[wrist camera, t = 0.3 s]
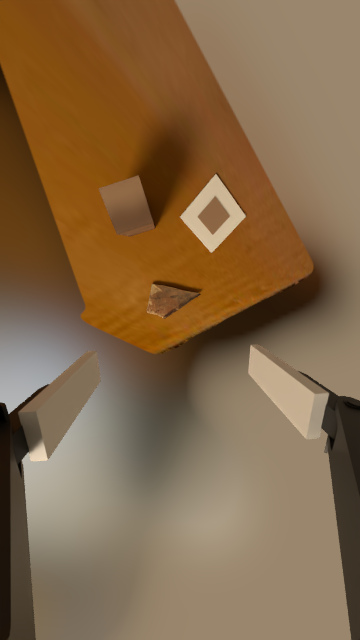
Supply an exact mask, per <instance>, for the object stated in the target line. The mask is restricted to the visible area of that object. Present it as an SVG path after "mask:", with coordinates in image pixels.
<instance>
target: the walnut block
mask: <svg viewBox="0 0 360 640" xmlns="http://www.w3.org/2000/svg"><path fill="white" fill-rule="evenodd" d="M99 191H100V193H101V196H102V198H103V201H104V203H105V206H106V208H107V211H108V213H109V216H110V218H111V221H112V223H113V226H114V228H115V230H116V233H117V234H119V235H125V236H133V235H136V234H139V233H142V232H145V231H148V230H152V229H155V226H154V223H153V219H152V216H151V213H150V210H149V207H148V203H147V200H146V197H145V194H144V191H143V187H142V184H141V181H140V178H139V175H138V176H135V177H132V178H129V179H126V180H123V181H120V182H117V183H114V184H111V185H108V186H105V187H102V188H99Z"/></svg>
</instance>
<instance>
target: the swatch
mask: <svg viewBox="0 0 360 640" xmlns="http://www.w3.org/2000/svg"><path fill="white" fill-rule="evenodd" d="M245 217H246V216H245V214H244V213H243V211H242V210H241V209H240V207H239V206H238V204H237V203H236V202H235V200H234V199H233V197H232V196H231V194H230V193H229V192H228V190H227V189H226V187H225V186H224V184H223V183H222V182H221V180H220V179H219V177H218V176H217V175H216V174H215V176H214V177H213V178H212V179H211V180H210V182H209V183H208V184H207V185H206V186H205V188H204V189H203V190H202V191H201V192H200V194H199V195H198V196H197V197H196V198H195V200H194V201H193V202H192V203H191V204H190V206H189V207H188V208H187V209H186V210H185V212H184V213H183V214H182V215H181V216H180V218H181V219H182V220H183V221H184V222H185V224H186V225H187V226H188V227H189V228H190V229H191V230H192V232H193V233H194V234H195V235H196V236H197V237H198V238H199V239H200V241H201V242H202V243H203V244H204V245H205V246H206V247H207V249H208V250H209V251H210V252H211V253H212V252H213V251H214V250H215V249H216V248H217V247H218V246H219V244H220V243H221V242H222V241H223V240H224V239H225V238H226V237H227V236H228V235H229V234H230V233H231V232H232V231H233V230H234V229H235V227H236V226H237V225H238V224H239V223H240V222H241V221H242V220H243V219H244V218H245Z"/></svg>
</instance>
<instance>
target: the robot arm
mask: <svg viewBox="0 0 360 640" xmlns="http://www.w3.org/2000/svg"><path fill="white" fill-rule="evenodd" d="M248 373H249V375H250V376H251V377H252V378H253V379H254V380H255V382H256V383H257V384H258V385H259V386H260V387H261V388H262V389H263V391H264V392H265V393H266V394H267V395H268V396H269V397H270V399H271V400H272V401H273V402H274V403H275V404H276V405H277V407H278V408H279V409H280V410H281V411H282V412H283V413H284V414H285V416H286V417H287V418H288V419H289V420H290V421H291V423H292V424H293V425H294V426H295V427H296V428H297V429H298V431H299V432H300V433H301V434H302V435H303V436H304V437H305V439H315V438H320V434H321V429H323V430H324V431H325V432H326V433H327V434H328V438H327V442H326V447H325V451H324V452H325V453H327V452H328V454H329V462H330V470H331V478H332V486H333V494H334V502H335V510H336V518H337V526H338V534H339V543H340V550H341V558H342V566H343V574H344V582H345V590H346V599H347V606H348V615H349V623H350V631H351V640H360V401H359V400H356V399H354V398H351V397H346V396H338V395H336V394H335V393H333V392H332V391H330V390H329V389H327V388H326V387H324V386H323V385H321V384H319V383H318V382H317V381H315V380H313V379H312V378H311V377H309V376H308V375H306V374H304V373H302V372H299V371H296V370H295V369H294V368H292V367H291V366H289V365H288V364H286V363H285V362H284V361H282V360H281V359H279V358H278V357H276V356H275V355H273V354H272V353H271V352H269V351H268V350H266V349H265V348H263V347H262V346H260V345H251V348H250V360H249V371H248ZM100 381H101V380H100V372H99V364H98V357H97V351H89V352H88V351H87V352H86V353H85V354H84V355H83V356H82V357H80V358H79V359H78V360H77V361H76V362H75V363H73V364H72V365H71V366H70V367H69V368H68V369H67V370H66V371H64V372H63V373H62V374H61V375H60V376H59V377H58V378H56V380H54V381H53V382H52V383H51V384H48V385H45V386H44V387H42V388H40V389H38V390H37V391H36V392H35V393H33V394H32V395H31V397H29V398H27V399H26V400H25V402H23V403H22V404H20V405H19V406H18V407H17V408H16V409H15V410H13V411H12V412H11V413H10V414H8V411H7V408H6V405H5V403H0V640H36V638H35V624H34V612H33V611H34V610H33V597H32V583H31V570H30V555H29V541H28V528H27V513H26V499H25V485H24V471H23V464H22V459H23V458H24V456H25V455H26V454H27V453H28V452H29V456H30V459H31V461H43V460H48V459H49V458H50V456H51V455H52V453H53V452H54V450H55V449H56V447H57V446H58V444H59V443H60V441H61V440H62V438H63V437H64V435H65V433H66V432H67V430H68V429H69V428H70V426H71V425H72V423H73V422H74V420H75V419H76V417H77V416H78V414H79V413H80V411H81V410H82V408H83V407H84V405H85V404H86V402H87V401H88V399H89V398H90V396H91V395H92V393H93V392H94V390H95V389H96V387H97V385H98V384H99V383H100Z"/></svg>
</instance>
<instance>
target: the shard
mask: <svg viewBox="0 0 360 640" xmlns="http://www.w3.org/2000/svg"><path fill="white" fill-rule="evenodd" d="M199 295H200V294H199V293H196V292H189V291H184V290H181V289H177V288H173V287H168V286H164V285H156V284H152V287H151V292H150V298H149V304H148V308H147V312H148V313H151V314H156V315H159V316H161V317H163V319H165V318H166V317H168V316H170V315H171V314H172V313H174V312H176V311H177V310H179V309H180V308H182V307H183V306H185V305H186V304H187V303H189V302H190V301H191V300H193V299H194V298H196V297H198V296H199Z"/></svg>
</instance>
